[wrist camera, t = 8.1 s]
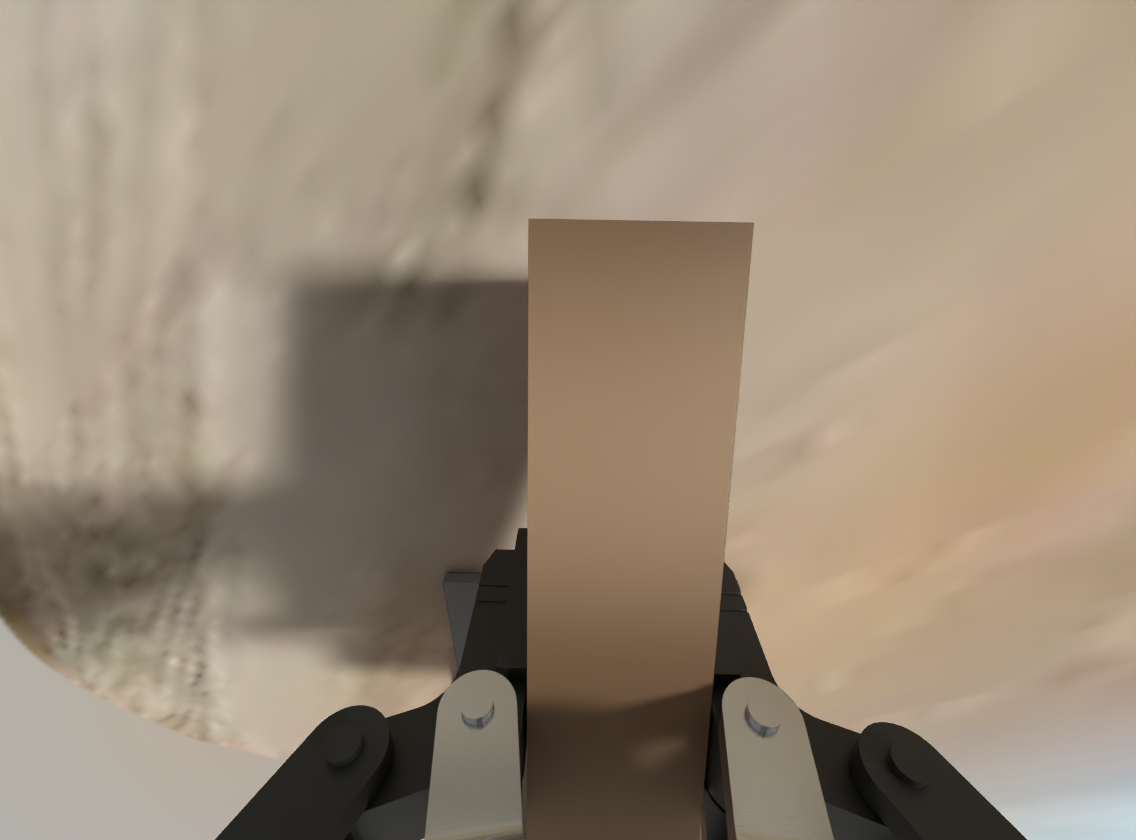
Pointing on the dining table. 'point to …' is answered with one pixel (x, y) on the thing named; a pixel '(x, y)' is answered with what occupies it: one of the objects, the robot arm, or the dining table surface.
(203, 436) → the dining table surface
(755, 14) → the dining table surface
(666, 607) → the wooden post on base
